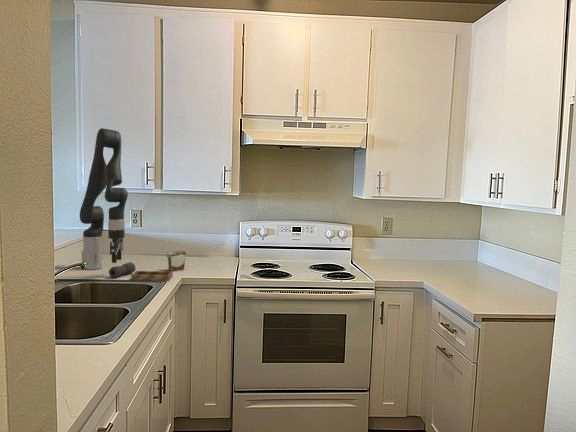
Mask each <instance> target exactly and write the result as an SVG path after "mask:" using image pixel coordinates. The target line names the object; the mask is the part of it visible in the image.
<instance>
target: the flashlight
mask: <svg viewBox="0 0 576 432" xmlns="http://www.w3.org/2000/svg"><path fill="white" fill-rule="evenodd" d="M136 269H137V265H136V264H135V262H132V261H129V262H126V263H124V264H121V265H117V266H116V265H115V266H112V267H110V269H109V270H108V274H109V276H110V277H111V278H117V277H119V276H122V275H127V274H133V273H135V272H136V271H137V270H136Z"/></svg>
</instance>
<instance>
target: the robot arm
mask: <svg viewBox="0 0 576 432" xmlns="http://www.w3.org/2000/svg"><path fill="white" fill-rule="evenodd" d="M105 148H108V149H112V151H113V154H112V156H111V158H110V160H109V161H108V163H107V162H106V160H105V157H104V149H105ZM121 158H122V135H121V133H120V132H119V131H118V130H114V129H108V128H103V127H102V128H99V129H98V131H97V134H96V138H95V144H94V153H93V159H92V164H91V168H90V170H89V171H90V172H89V176H88V179H87V180H88V181H87V187H86V191H85V194H84V197H83V201H82V204H81V207H80V210H79V221H80V222H81V223H82V224H84V225H85V224H86V225H87V224H88V225H89V224H90V226H89V227H88V228H86V229H85V230H83V233H82V235H83V236H82V250H81V264H82V263H83V262H86V263H87V267H86V268H84V269H83V270H99V269H102V268H103V267H102V266H103V262H102V261H103V260H102V259H103V251H102V250H103V231H104V221H105V220H104V219H105V214H104V212H105V211H104V210H103V208H102V207H101V206H99V205H95V203H96V200H97V199H98V197H99V196H100V195H101V194H102V193H103V191H104V190H105V192H104V199H105V201H106V202H108V203H118V204H117V205H116V206H111V207H109V208H108V223H107V224H108V225H107V226H108V227H107V228H108V229H107V231H108V234H107V235H108V239H110V240H112V241H110V242H109V255H111V263H112V264H116V263H118V261H121V260H122V252H123V250H124V243H123V242H124V238H125V237H126V236H125V235H126V233H125V231H126V230H125V208H126V203H127V200H128V195H129V193H128V190H127V189H126V188H125V187H116V186H120V185H122V184H123V178H122V176H123V175H122V168H121V167H122V166H121V161H122V159H121Z"/></svg>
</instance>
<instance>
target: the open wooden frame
mask: <svg viewBox="0 0 576 432" xmlns="http://www.w3.org/2000/svg"><path fill="white" fill-rule="evenodd" d="M173 273H174V272H169V271H167V270H165V271H164V270H163V271H161V270H160V271H159V270H158V271H157V270H156V271H154V270H135V271H134V272H132V273H131V280H130V281H159V282H163V281H164V282H169V281H171V279H172V278H173V276H174V275H173Z"/></svg>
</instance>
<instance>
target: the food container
mask: <svg viewBox="0 0 576 432" xmlns="http://www.w3.org/2000/svg"><path fill="white" fill-rule="evenodd" d="M186 256H187V251H186V250H185V251H184V250H173V251H172V250H170V251H168V252H167V254H166V258H167V264H168V265H167V267H168V272H173V273H175V272H180V271H184V270H185V264H186V263H185V262H186Z"/></svg>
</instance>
